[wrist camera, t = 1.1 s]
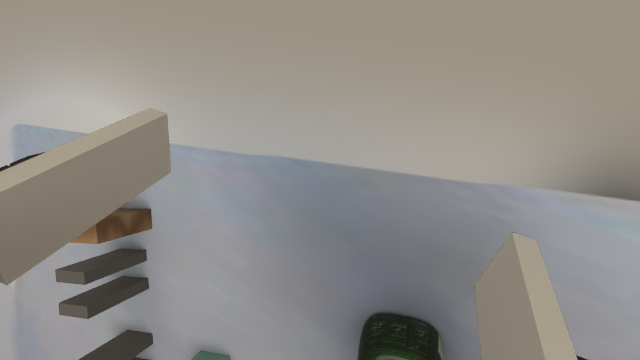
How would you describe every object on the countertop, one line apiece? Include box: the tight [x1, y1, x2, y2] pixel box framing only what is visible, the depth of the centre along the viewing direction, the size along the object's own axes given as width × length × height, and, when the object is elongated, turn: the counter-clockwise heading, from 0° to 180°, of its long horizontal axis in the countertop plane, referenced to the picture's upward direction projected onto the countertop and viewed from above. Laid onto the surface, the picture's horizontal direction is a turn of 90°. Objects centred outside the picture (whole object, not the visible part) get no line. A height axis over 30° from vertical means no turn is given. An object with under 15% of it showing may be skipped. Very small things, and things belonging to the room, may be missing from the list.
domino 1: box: [55, 249, 147, 285], centre depth 48 cm, size 2×5×10 cm, turn 92°
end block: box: [70, 208, 152, 244], centre depth 48 cm, size 3×8×9 cm, turn 92°
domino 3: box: [79, 330, 153, 360], centre depth 49 cm, size 2×5×10 cm, turn 92°
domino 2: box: [59, 276, 149, 319], centre depth 48 cm, size 2×5×10 cm, turn 92°
